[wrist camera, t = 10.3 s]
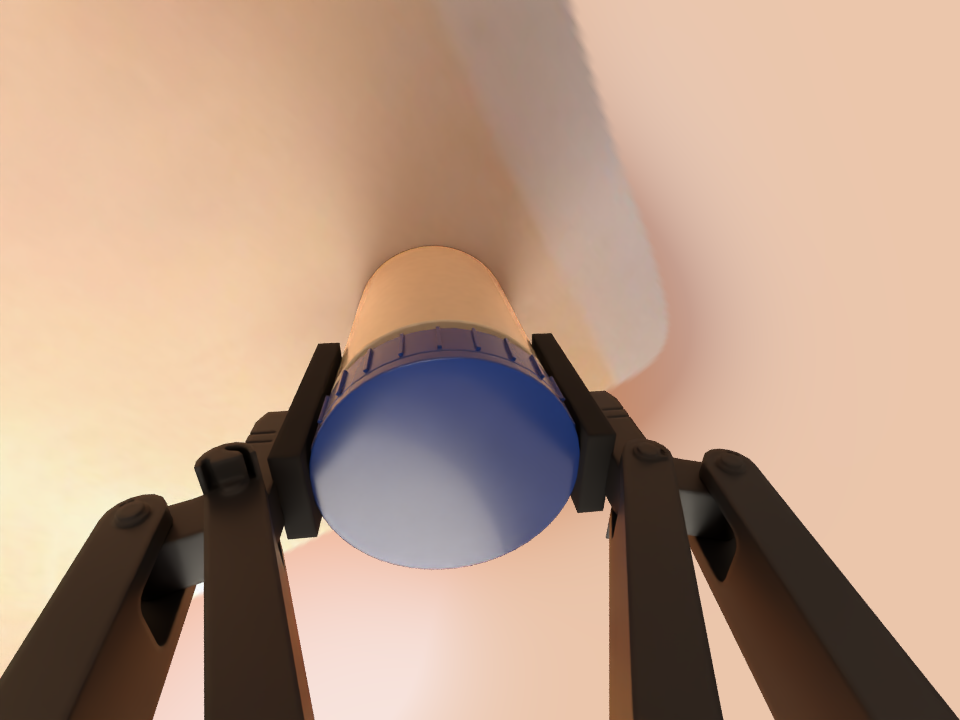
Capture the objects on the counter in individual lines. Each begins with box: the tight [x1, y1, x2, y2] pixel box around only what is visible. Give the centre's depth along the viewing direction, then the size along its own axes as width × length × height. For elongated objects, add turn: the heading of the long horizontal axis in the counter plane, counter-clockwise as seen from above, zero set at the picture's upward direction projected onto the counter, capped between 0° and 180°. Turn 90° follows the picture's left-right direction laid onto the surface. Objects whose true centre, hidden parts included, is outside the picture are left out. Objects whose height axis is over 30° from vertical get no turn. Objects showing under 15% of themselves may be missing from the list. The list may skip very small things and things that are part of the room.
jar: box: [331, 246, 544, 392], centre depth 18 cm, size 7×7×10 cm
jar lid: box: [309, 326, 580, 569], centre depth 13 cm, size 7×7×2 cm
